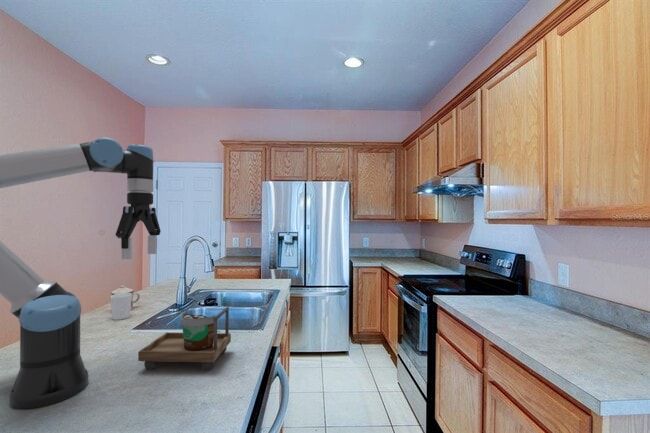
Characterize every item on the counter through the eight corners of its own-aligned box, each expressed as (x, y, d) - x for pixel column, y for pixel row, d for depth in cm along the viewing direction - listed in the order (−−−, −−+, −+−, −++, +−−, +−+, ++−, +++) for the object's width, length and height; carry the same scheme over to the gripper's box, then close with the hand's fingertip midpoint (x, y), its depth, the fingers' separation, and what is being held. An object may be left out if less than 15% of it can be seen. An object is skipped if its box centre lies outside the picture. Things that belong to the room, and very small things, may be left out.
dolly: (213, 373, 90) (213, 319, 90) (138, 372, 90) (138, 318, 90) (231, 350, 105) (231, 305, 105) (166, 349, 105) (166, 304, 105)
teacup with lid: (114, 314, 144) (114, 288, 144) (108, 310, 150) (108, 285, 150) (142, 308, 152) (142, 284, 152) (136, 304, 159) (136, 282, 158)
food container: (170, 349, 96) (170, 316, 96) (186, 341, 101) (186, 310, 101) (202, 355, 91) (202, 321, 91) (216, 347, 97) (216, 315, 97)
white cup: (124, 320, 135) (124, 297, 135) (106, 320, 135) (106, 297, 135) (135, 314, 143) (135, 292, 143) (118, 314, 143) (118, 292, 143)
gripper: (151, 195, 117) (151, 251, 117) (101, 189, 92) (101, 261, 92) (171, 195, 116) (170, 252, 116) (126, 189, 91) (126, 261, 91)
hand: (140, 256), depth 104 cm, fingers open, 13 cm apart
